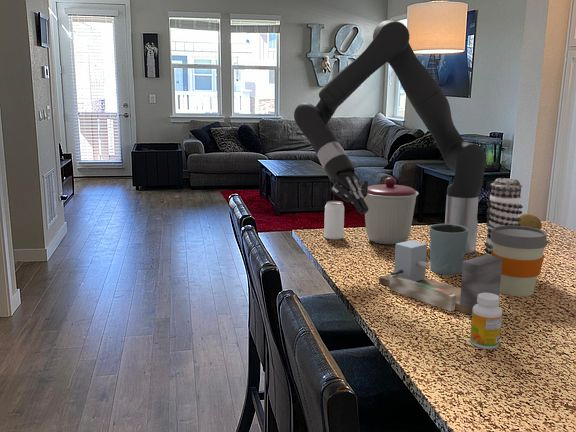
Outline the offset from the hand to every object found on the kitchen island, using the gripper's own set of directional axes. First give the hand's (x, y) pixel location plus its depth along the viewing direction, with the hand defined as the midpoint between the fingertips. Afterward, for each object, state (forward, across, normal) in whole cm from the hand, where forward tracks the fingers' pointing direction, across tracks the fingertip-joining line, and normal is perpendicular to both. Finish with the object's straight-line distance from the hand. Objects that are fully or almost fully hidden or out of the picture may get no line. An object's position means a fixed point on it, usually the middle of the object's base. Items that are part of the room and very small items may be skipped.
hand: (364, 212), depth 151 cm
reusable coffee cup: (+35, +18, -13) cm, 42 cm away
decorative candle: (+27, +31, -4) cm, 41 cm away
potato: (+16, +71, +5) cm, 73 cm away
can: (-10, +18, +33) cm, 39 cm away
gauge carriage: (+23, -2, -2) cm, 23 cm away
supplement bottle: (+45, -15, -22) cm, 52 cm away
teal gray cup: (+21, +18, +1) cm, 28 cm away
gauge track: (+28, 0, -6) cm, 29 cm away
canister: (-1, +29, +23) cm, 37 cm away
